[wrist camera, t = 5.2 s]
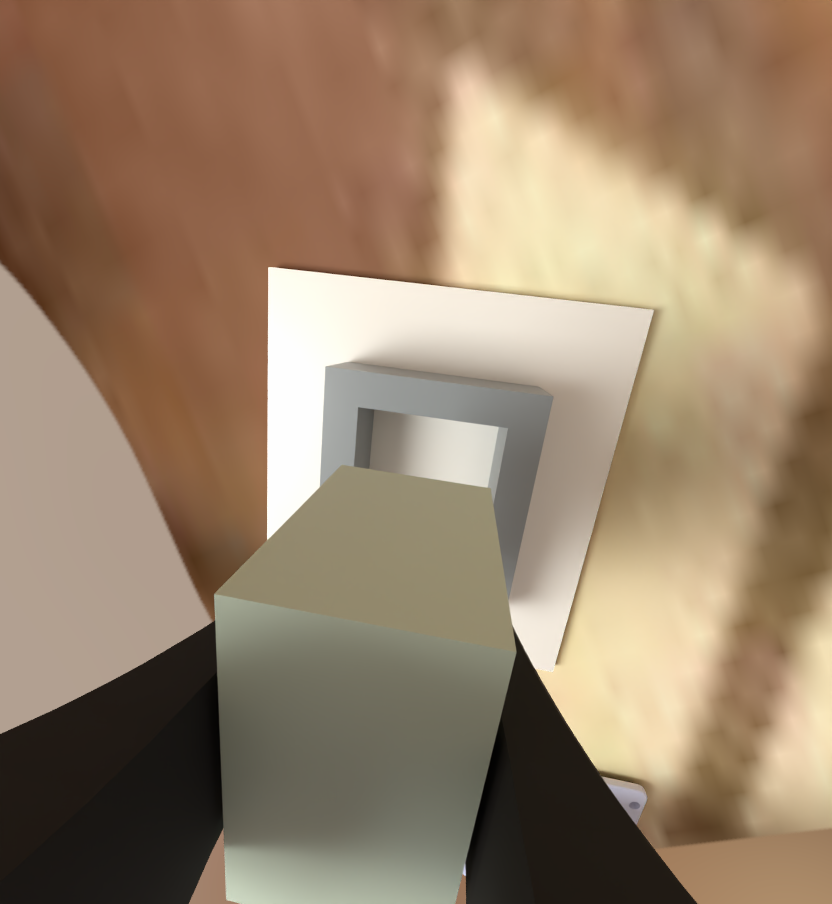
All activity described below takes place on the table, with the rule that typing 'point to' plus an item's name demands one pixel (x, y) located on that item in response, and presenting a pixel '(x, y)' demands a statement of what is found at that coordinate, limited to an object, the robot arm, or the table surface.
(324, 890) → the key block
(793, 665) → the table surface
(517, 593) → the slot holder
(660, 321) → the table surface
